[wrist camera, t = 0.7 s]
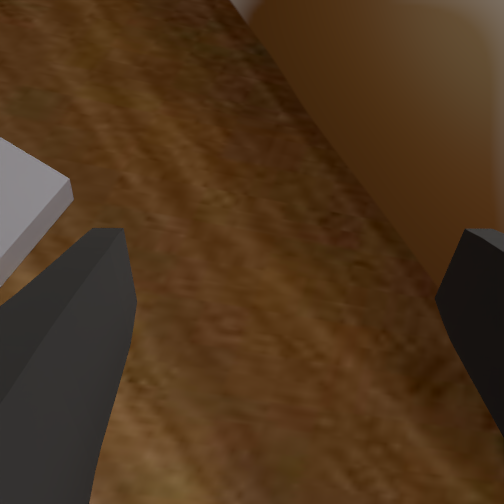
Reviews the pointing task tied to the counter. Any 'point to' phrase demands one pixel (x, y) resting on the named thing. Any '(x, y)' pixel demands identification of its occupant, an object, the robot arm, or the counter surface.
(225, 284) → the counter surface
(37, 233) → the power strip
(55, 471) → the robot arm
